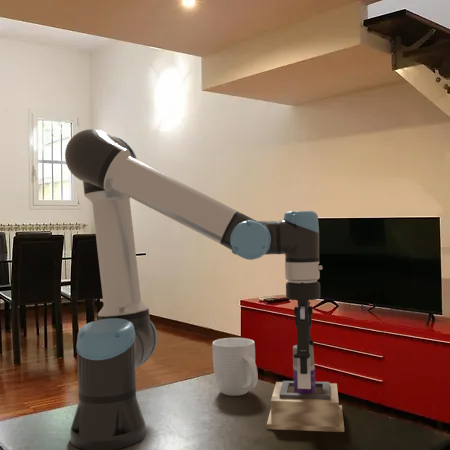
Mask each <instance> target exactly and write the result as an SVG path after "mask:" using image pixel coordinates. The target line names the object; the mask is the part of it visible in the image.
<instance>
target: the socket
mask: <svg viewBox="0 0 450 450" xmlns="http://www.w3.org/2000/svg"><path fill="white" fill-rule="evenodd" d="M315 388H316V394H314V393H294V380H282V381H276V382H275V385H274V389H273V392H272V394H271V399H270V411H269V413H268V414H269V415H268V417H267V422H266V430H284V431H285V430H286V431H289V430H290V431H309V432H333V433H334V432H335V433H336V432H337V433H344V432H345V425H344V424H345V423H344V414H343V405H342V404H340V403H339V394H338V393H339V392H338V391H339V390H338V383H336V382H335V383H333V382H332V383H331V382H330V381H315Z"/></svg>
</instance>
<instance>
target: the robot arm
mask: <svg viewBox="0 0 450 450" xmlns="http://www.w3.org/2000/svg"><path fill="white" fill-rule="evenodd" d="M64 156H65V157H64V159H65V163H66V167H67V169H68V170H69V172H70V174H72V175H73V176H74V177H75V178H76V179H78V180H80V181H81V182H82V183H83V184H82V186H83V193H84V197H85V198H86V199H88V201H90V202H91V203H92V204H91V205H92V213H93V221H94V230H95V237H96V238H95V239H96V249H97V258H98V266H99V275H100V284H101V294H102V300H103V301H102V302H103V305H102V308H101V309H100V310H99V312H98V313H97V317H98V319H97V320H96V321H90V322H88V323H85V324H84V325H83V326H81V327H80V328H79V330H78V333H77V337H76V338H77V339H76V340H77V341H76V345H75V346H76V353H77V354H76V355H77V356H76V357H77V383H78V384H77V386H78V387H77V389H78V392H77V393H78V403H77V406H76V409H75V414H74V416H73V421H72V424H71V426H70V443H71V445H72V446H73V447H75V448H77V449H81V450H118V449H119V450H120V449H123V448H126V447H130V446H132V445H134V444H137V443H139V442H140V441H142V440H143V439H144V437H145V436H146V422H145V418H144V416H143V412H142V410H141V407H140V405H139V402H138V398H137V389H136V388H137V384H136V381H137V379H136V378H137V376H136V370H137V369H138V368H139V367H140V366H141V365H143V364H145V363H146V362H147V361H148V360H149V359H150V358H151V356H152V355H153V353H154V351H155V349H156V346H157V343H158V335H157V330H156V327H155V324H154V323H153V322H152V320H150V310H149V306H148V305H147V304H145V303H144V302H143V301H142V295H141V288H140V280H139V271H138V262H137V254H136V253H137V251H136V244H135V236H134V234H135V233H134V227H133V224H134V223H133V217H132V209H131V199H132V200H134V201H137V202H139V203H140V204H142V205H145V207H148V208H150V209H151V210H152V209H153V210H154V211H156V212H158V213H160V214H162V215H164V216H166V217H168V218H169V219H171V220H173V221H176V222H178V223H179V224H181V225H182V226H185V227H187V228H189V229H191V230H193V231H195V232H197V233H199V234H201V235H203V236H205V237H206V238H208V239H210V240H212V241H214V242H215V243H216V242H217V243H218V244H220V245H221V246H223V247H225V248H227V249H229V250H231V253H232V254H233V255H237V256H238V257H240V258H242V259H245V260H250V261H253V260H257V259H260V258H261V257H263V256H265V255H284V257H285V258H284V260H285V261H284V275H285V276H284V278H285V279H286V280H287V281H286V283H285V297H286V299H288V300H291V301H297V305H296V306H294V308H293V309H294V311H293V314H294V325H295V328H296V339H297V340H296V345H297V354H294V358H297V375H298V389H311V373H310V353H309V345H312V346H314V345H315V341H314V340H313V339H312V336H311V328H312V323H313V321H312V320H313V311H314V309H313V306H310V305H311V302H310V301H314V300H316V301H317V300H319V299H320V298H321V283H320V282H319V281H318V280H319V279H320V278H321V277H320V276H321V275H320V274H321V273H320V271H321V270H323V265H319V264H320V227H319V226H320V225H319V217H318V214H317V213H316V212H315V211H313V210H298V211H296V210H295V211H293V210H291V211H286V212H284V214H283V215H284V216H283V220H255V219H254V218H251V217H250V216H248V215H245V214H244V213H242V212H240V211H237V210H236V209H234V208H232V207H230V206H229V205H227V204H224V203H222V202H221V201H218V200H217V199H215V198H213V197H210V196H209V195H207V194H205V193H203V192H201V191H198V190H197V189H196V188H195V189H194V188H193V187H191V186H189V185H187V184H185V183H184V182H181V181H179V180H177V179H175V178H173V177H171V176H169V175H167V174H165V173H163V172H162V171H160V170H157V169H156V168H153V167H152V166H150V165H147V164H146V163H144V162H142V161H140V160H138V159H137V156H136V154H135V151H134V150H133V148H132V147H131V146H130V145H129V144H128V143H127V142H126V141H125V140H123V139H122V138H120V137H117V136H114V135H111V134H109V133H107V132H106V131H103V130H101V129H95V128H92V129H91V128H90V129H88V128H87V129H84V130H81V131H79V132H77V133H75V134H73V136H72V137H71V138H70V139H69V141H68V143H67V144H66V148H65V152H64ZM301 350H306V351H301Z"/></svg>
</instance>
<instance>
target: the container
mask: <svg viewBox="0 0 450 450" xmlns="http://www.w3.org/2000/svg"><path fill="white" fill-rule="evenodd" d="M301 351H306V350H301ZM314 351H315V350H314V345H309V353H310V373H311V389H298V375H297V358H294V354H297V344H295V345H293V346H292V361H293V362H292V363H293V364H292V367H293V368H292V371H293V381H294V393H314V394H316V388H315V382H316V367H315V366H316V365H315V355H314V354H315V352H314Z"/></svg>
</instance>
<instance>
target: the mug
mask: <svg viewBox="0 0 450 450" xmlns="http://www.w3.org/2000/svg"><path fill="white" fill-rule="evenodd" d="M255 345H256V344H255V341H254V340H253V339H250V338H245V337H225V338H218V339H216V340H213V341H212V366H213V367H212V368H213V373H214V379H215V382H216V384H217V388H218V389H219V390H220V393H222V394H223V395H225V396H228V397H229V396H232V397H236V396H237V397H238V396H239V397H240V396H244V395H246V394H247V393H248V392H249V390H251V389H254V388H256V386H257V385H258V378H259V376H258V367H257V364H256V346H255Z"/></svg>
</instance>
